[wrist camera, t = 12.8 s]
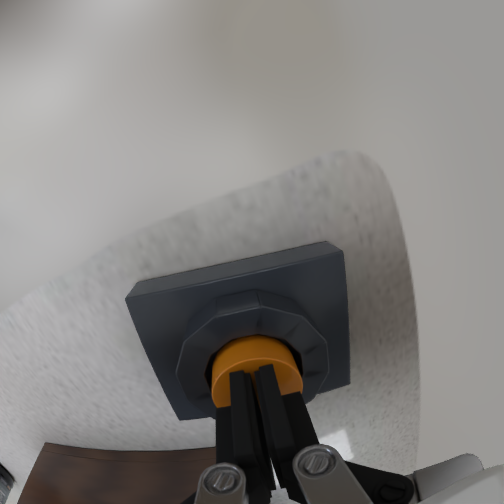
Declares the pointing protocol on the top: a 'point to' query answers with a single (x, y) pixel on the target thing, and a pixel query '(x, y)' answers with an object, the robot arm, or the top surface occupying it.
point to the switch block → (245, 320)
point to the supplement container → (5, 485)
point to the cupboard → (114, 476)
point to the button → (253, 365)
